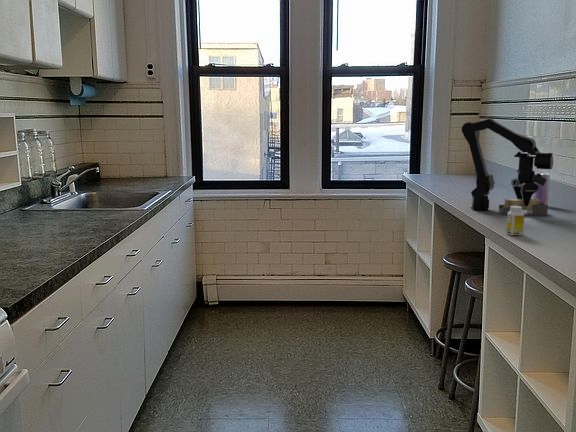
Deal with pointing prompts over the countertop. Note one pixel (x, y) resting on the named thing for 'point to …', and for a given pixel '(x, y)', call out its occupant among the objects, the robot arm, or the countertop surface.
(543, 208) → the bracket
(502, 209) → the dark grey arch block
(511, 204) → the rail
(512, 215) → the supplement bottle
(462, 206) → the countertop surface
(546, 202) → the beverage can
